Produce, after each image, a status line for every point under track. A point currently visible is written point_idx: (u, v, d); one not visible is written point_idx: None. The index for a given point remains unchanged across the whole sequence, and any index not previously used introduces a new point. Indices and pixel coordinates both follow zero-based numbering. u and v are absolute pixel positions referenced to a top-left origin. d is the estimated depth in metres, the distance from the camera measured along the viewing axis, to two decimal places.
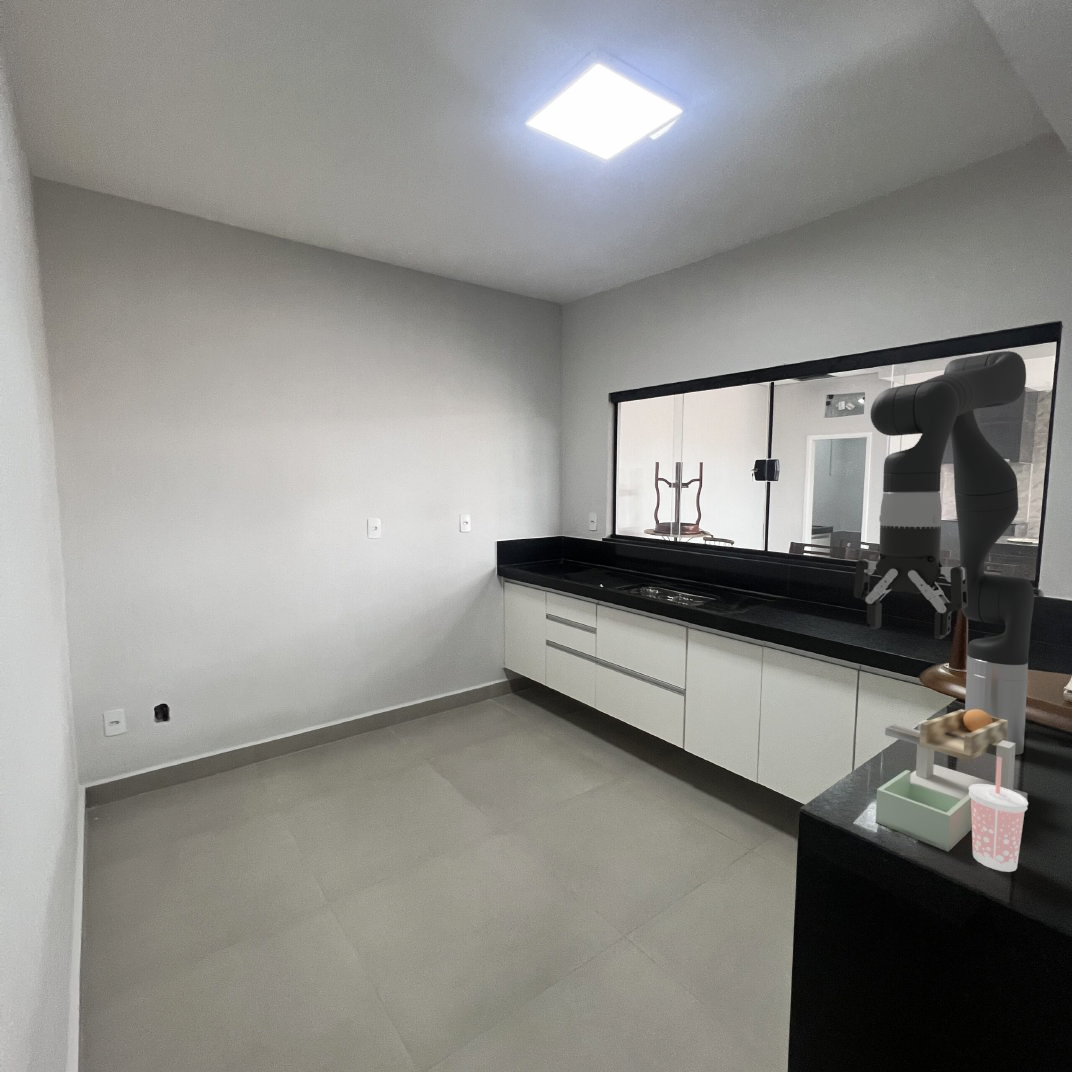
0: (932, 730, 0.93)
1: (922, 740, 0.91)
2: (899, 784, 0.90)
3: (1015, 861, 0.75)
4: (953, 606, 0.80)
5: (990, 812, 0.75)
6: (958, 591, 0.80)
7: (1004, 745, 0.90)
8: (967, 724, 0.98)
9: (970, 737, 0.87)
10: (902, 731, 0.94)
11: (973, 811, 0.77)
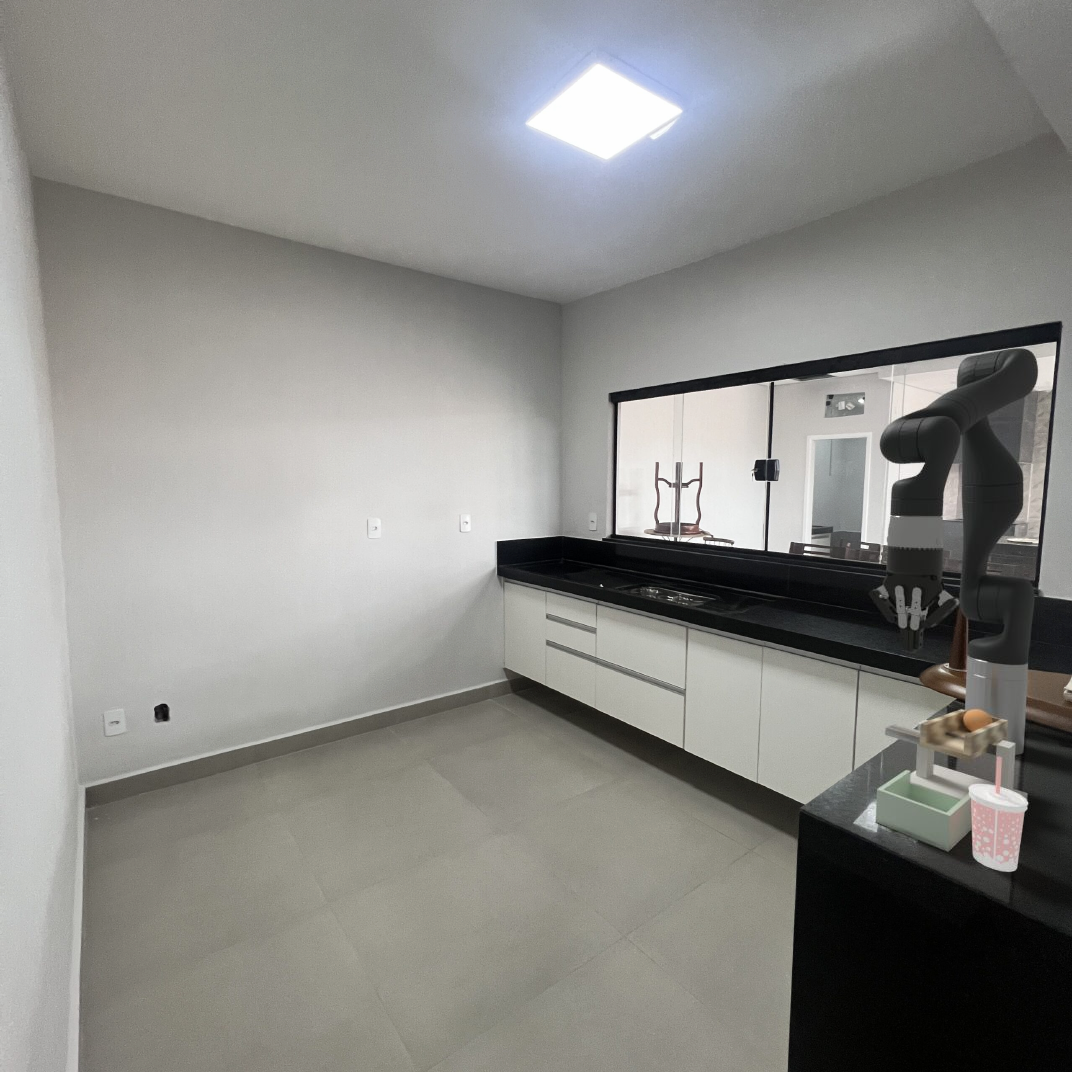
0: (932, 730, 0.93)
1: (922, 740, 0.91)
2: (899, 784, 0.90)
3: (1015, 861, 0.75)
4: (924, 624, 0.91)
5: (990, 812, 0.75)
6: (938, 616, 0.90)
7: (1004, 745, 0.90)
8: (967, 724, 0.98)
9: (970, 737, 0.87)
10: (902, 731, 0.94)
11: (973, 811, 0.77)
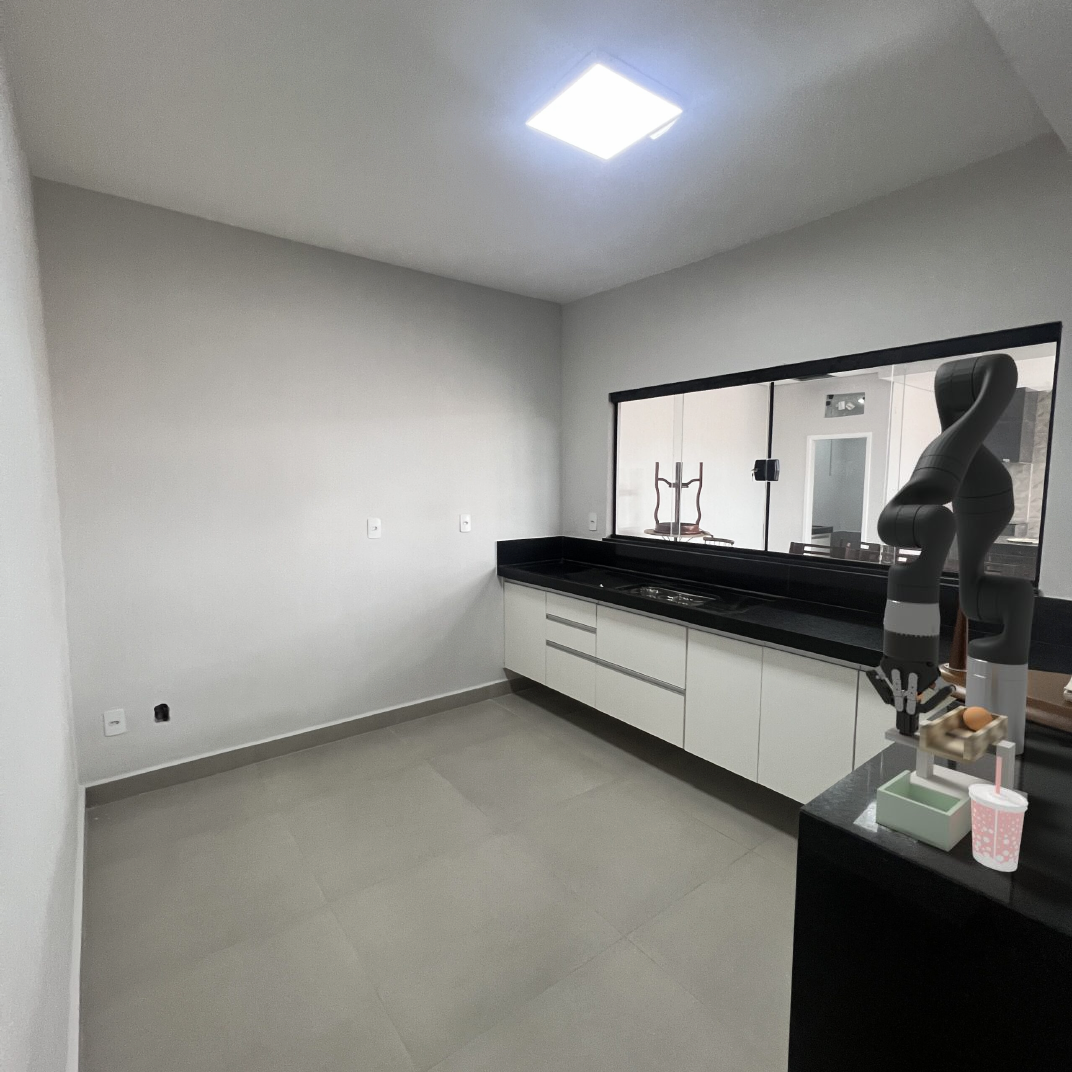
0: (932, 733, 0.93)
1: (922, 744, 0.91)
2: (899, 784, 0.90)
3: (1015, 861, 0.75)
4: (920, 709, 0.92)
5: (990, 812, 0.75)
6: (934, 703, 0.90)
7: (1004, 745, 0.90)
8: (967, 722, 0.98)
9: (969, 742, 0.86)
10: (902, 735, 0.94)
11: (973, 811, 0.77)
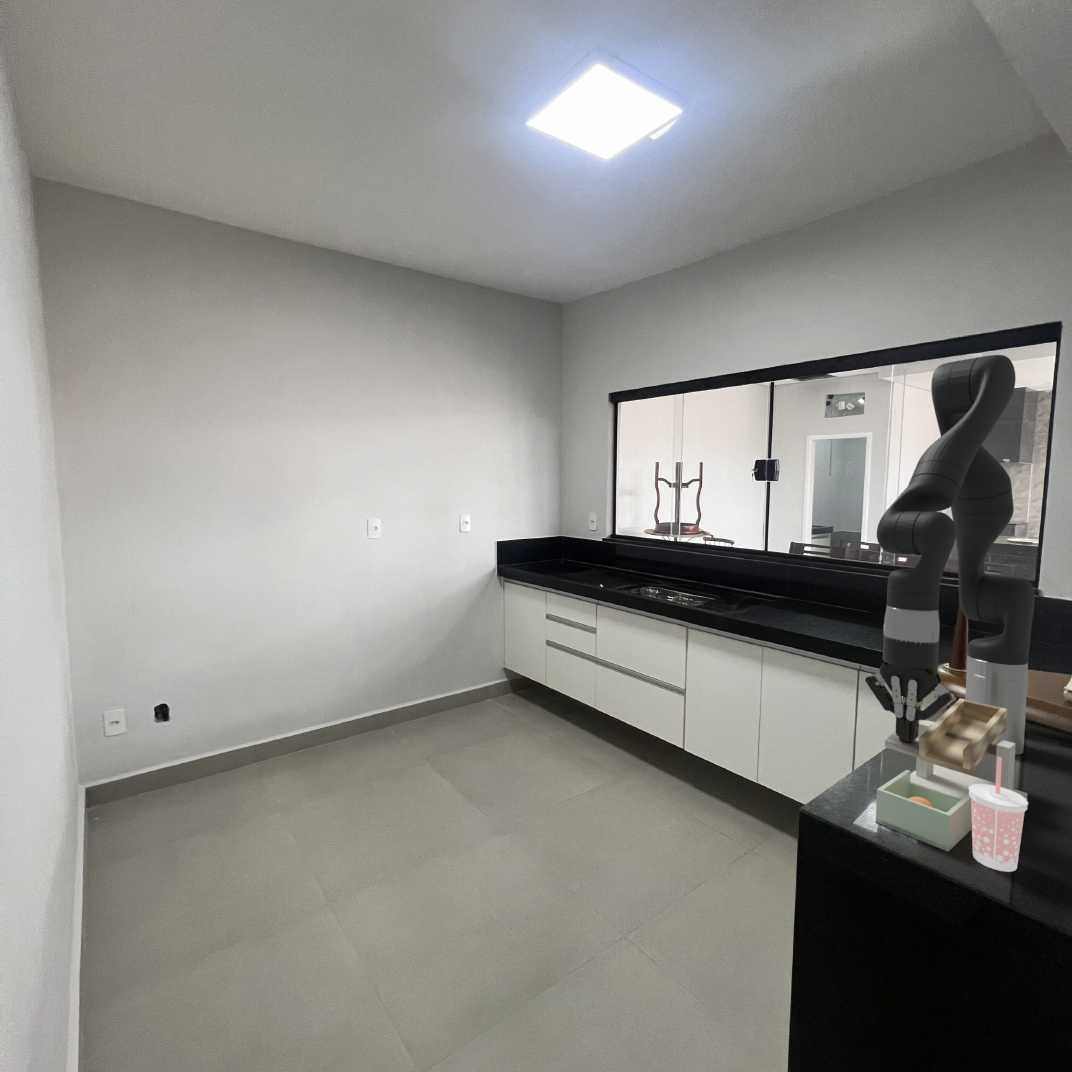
0: (931, 740, 0.93)
1: (921, 753, 0.92)
2: (899, 784, 0.90)
3: (1015, 861, 0.75)
4: (920, 716, 0.92)
5: (990, 812, 0.75)
6: (934, 710, 0.91)
7: (1004, 745, 0.90)
8: None
9: (968, 752, 0.86)
10: (901, 743, 0.94)
11: (973, 811, 0.77)
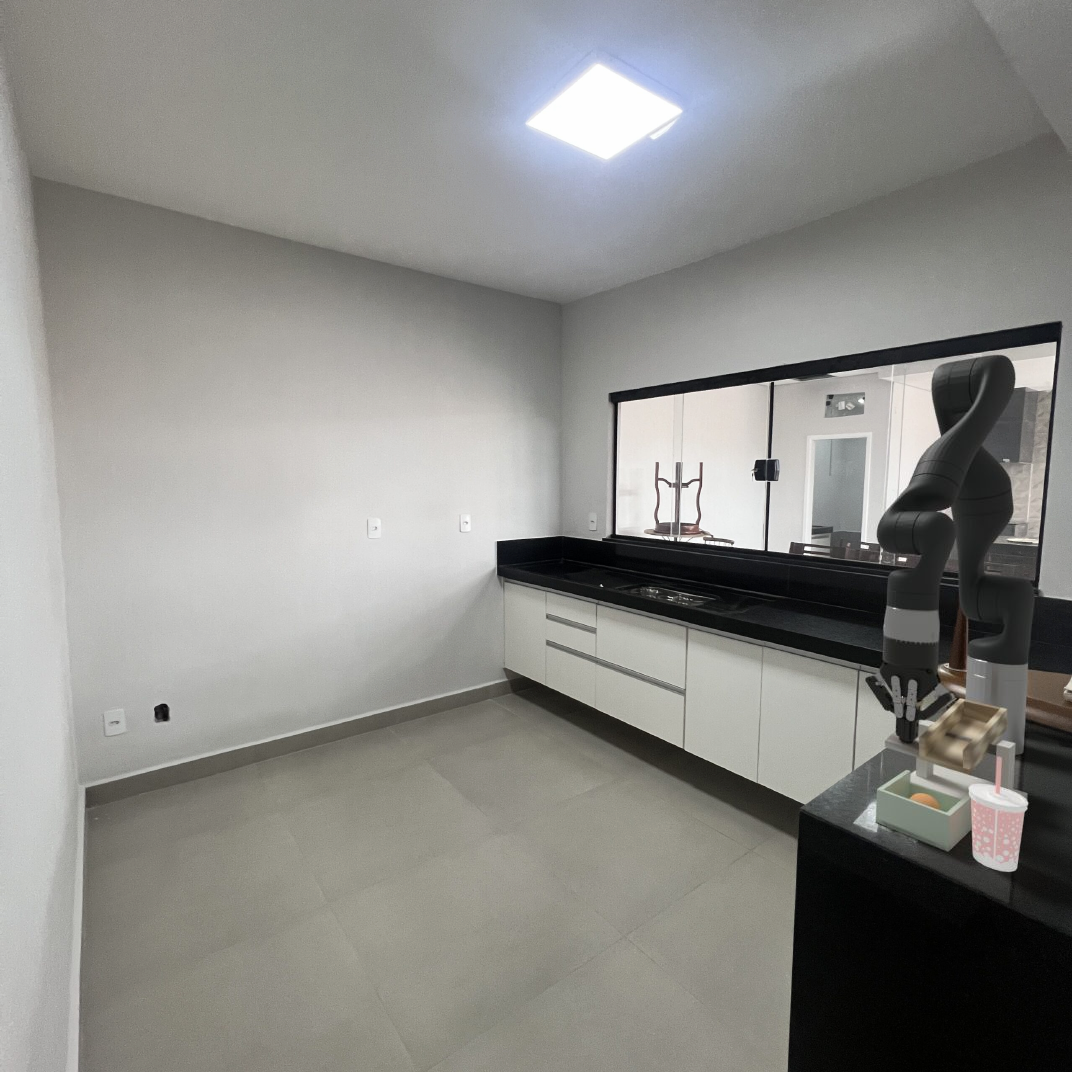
0: (931, 740, 0.93)
1: (921, 753, 0.92)
2: (899, 784, 0.90)
3: (1015, 861, 0.75)
4: (920, 716, 0.92)
5: (990, 812, 0.75)
6: (934, 710, 0.91)
7: (1004, 745, 0.90)
8: None
9: (968, 752, 0.86)
10: (901, 743, 0.94)
11: (973, 811, 0.77)
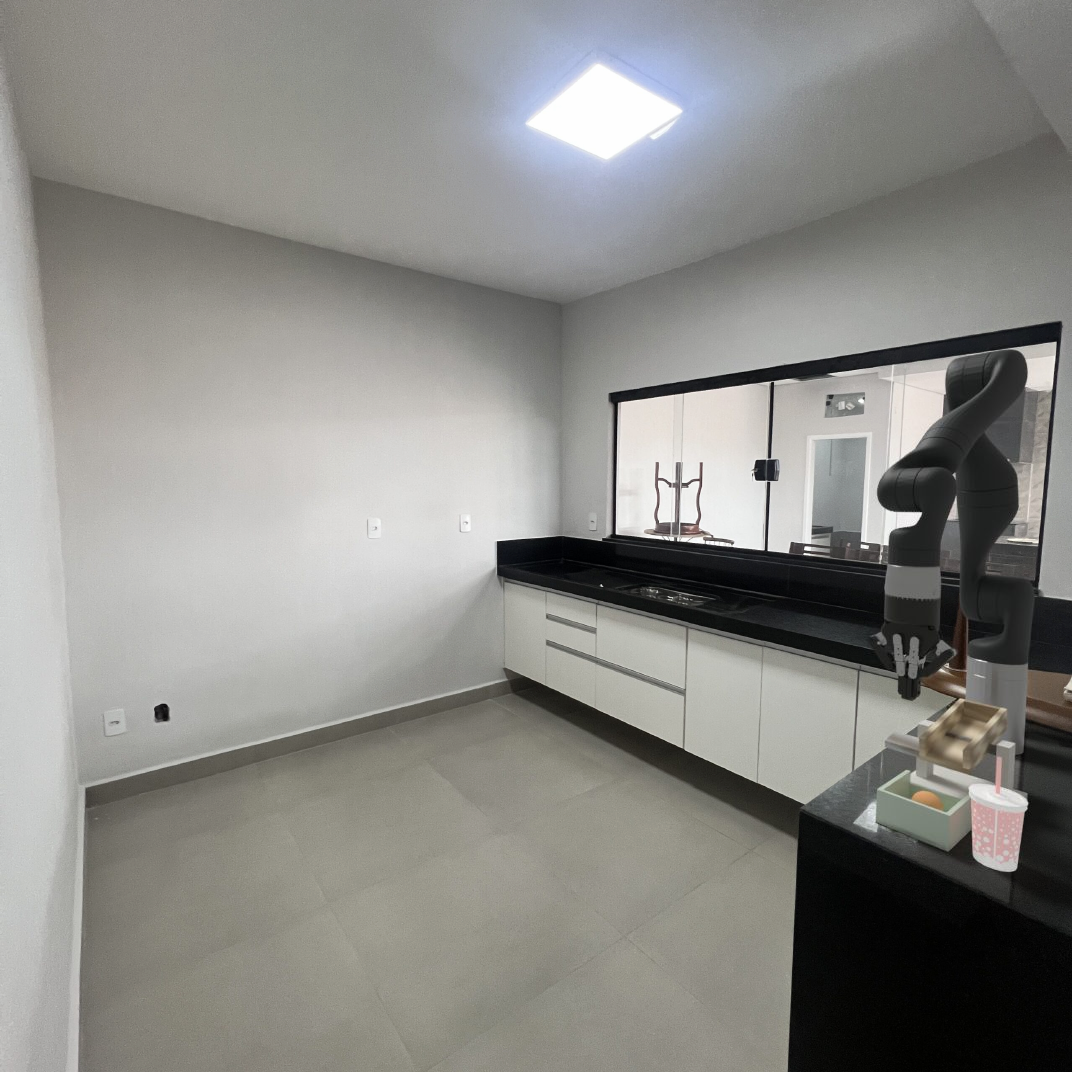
0: (931, 740, 0.93)
1: (921, 753, 0.92)
2: (899, 784, 0.90)
3: (1015, 861, 0.75)
4: (922, 673, 0.92)
5: (990, 812, 0.75)
6: (936, 666, 0.90)
7: (1004, 745, 0.90)
8: (917, 796, 0.86)
9: (968, 752, 0.86)
10: (901, 743, 0.94)
11: (973, 811, 0.77)
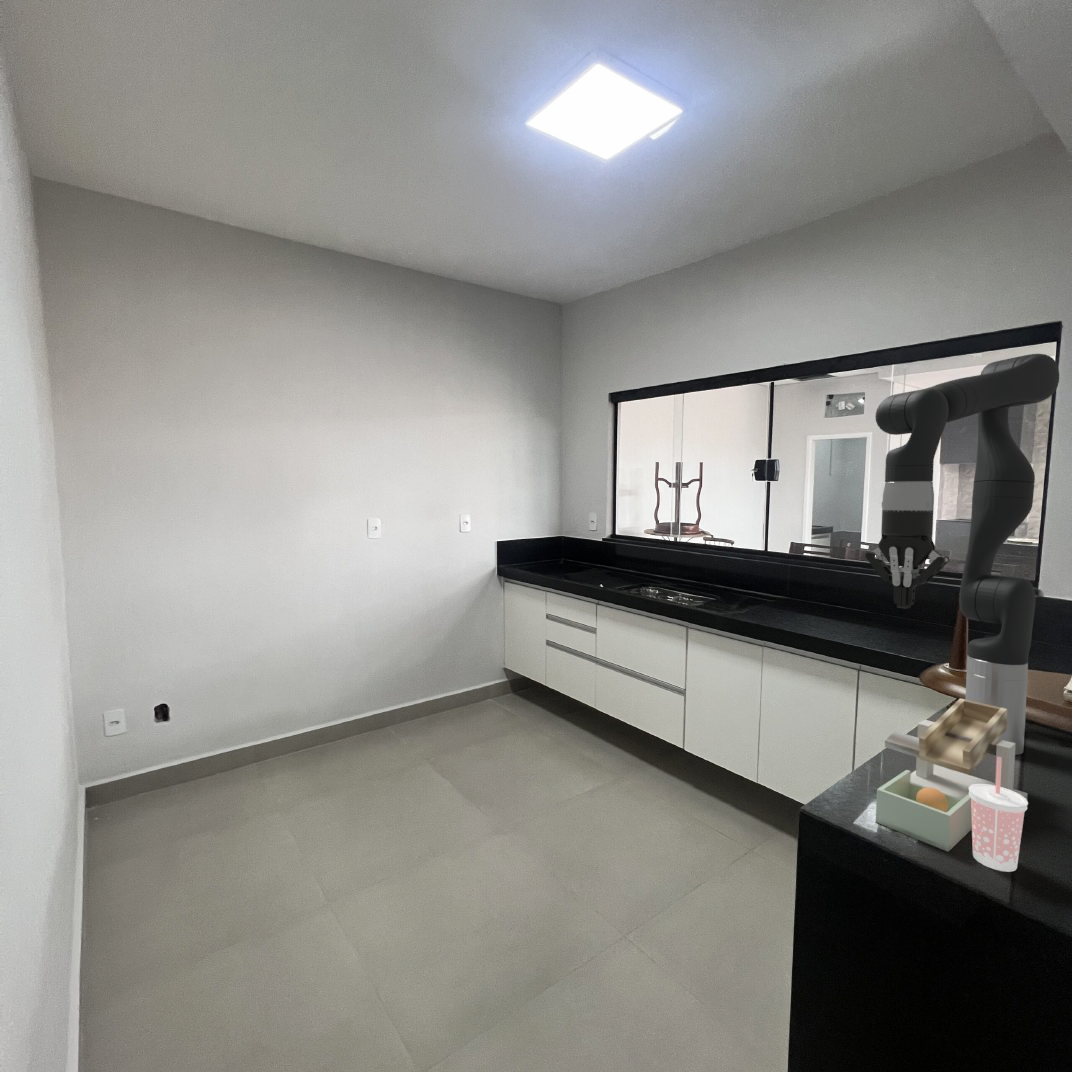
0: (931, 740, 0.93)
1: (921, 753, 0.92)
2: (899, 784, 0.90)
3: (1015, 861, 0.75)
4: (916, 581, 0.99)
5: (990, 812, 0.75)
6: (929, 573, 0.98)
7: (1004, 745, 0.90)
8: None
9: (968, 752, 0.86)
10: (901, 743, 0.94)
11: (973, 811, 0.77)
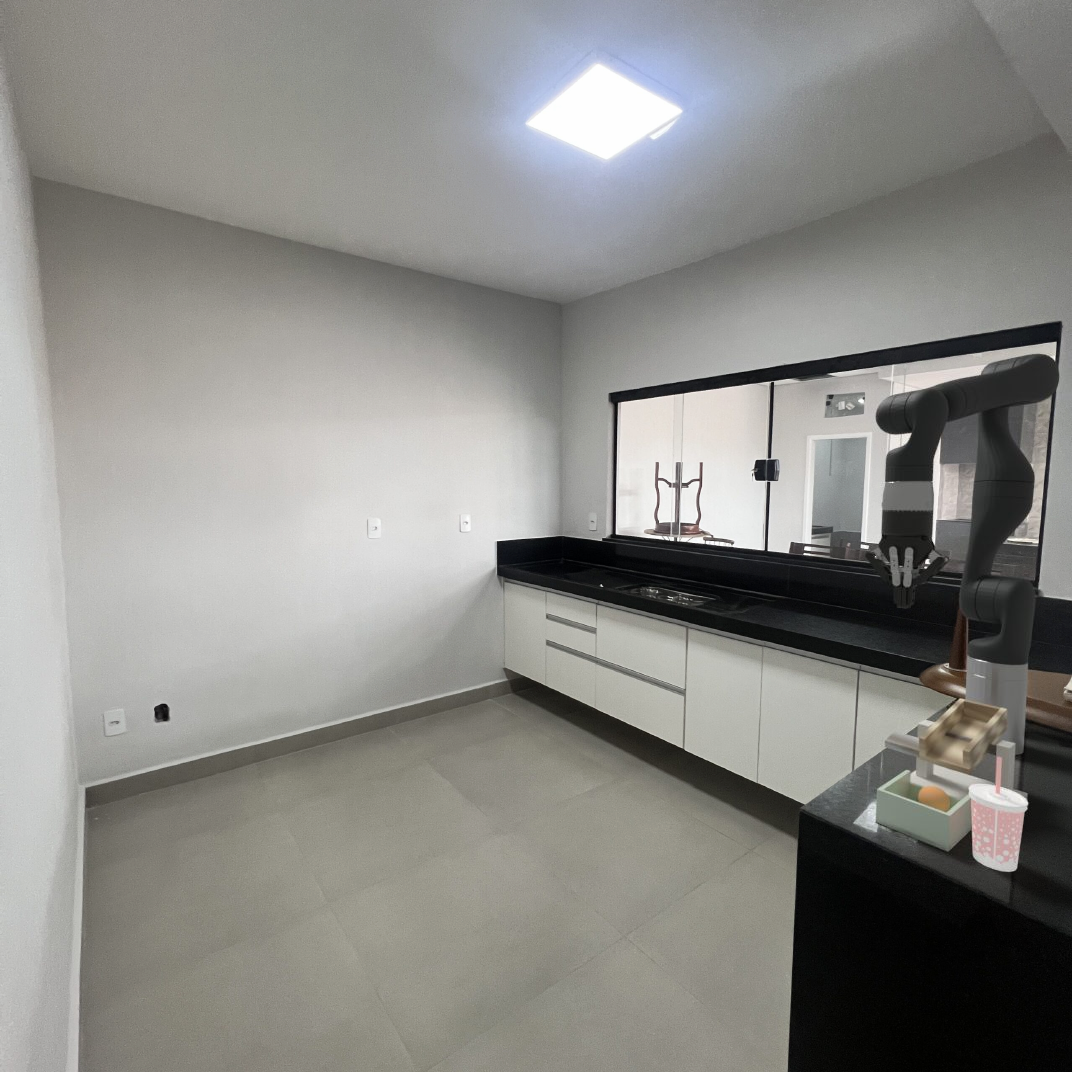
0: (931, 740, 0.93)
1: (921, 753, 0.92)
2: (899, 784, 0.90)
3: (1015, 861, 0.75)
4: (916, 581, 0.99)
5: (990, 812, 0.75)
6: (929, 573, 0.98)
7: (1004, 745, 0.90)
8: None
9: (968, 752, 0.86)
10: (901, 743, 0.94)
11: (973, 811, 0.77)
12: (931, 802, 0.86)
